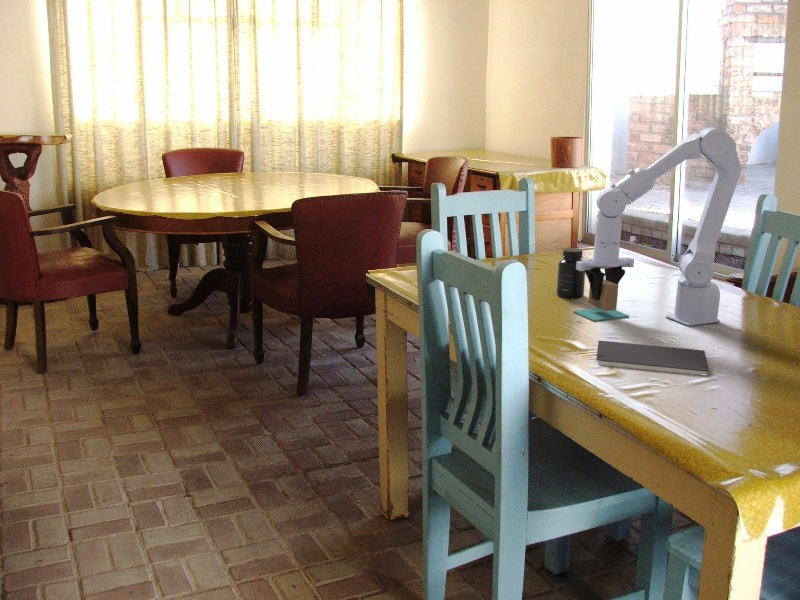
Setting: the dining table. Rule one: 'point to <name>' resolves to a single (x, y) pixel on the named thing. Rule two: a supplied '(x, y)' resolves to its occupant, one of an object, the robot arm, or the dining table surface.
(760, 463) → the dining table surface
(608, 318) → the teal mat
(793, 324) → the dining table surface
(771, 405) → the dining table surface
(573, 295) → the supplement bottle
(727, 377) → the dining table surface
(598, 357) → the notebook
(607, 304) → the brown block
